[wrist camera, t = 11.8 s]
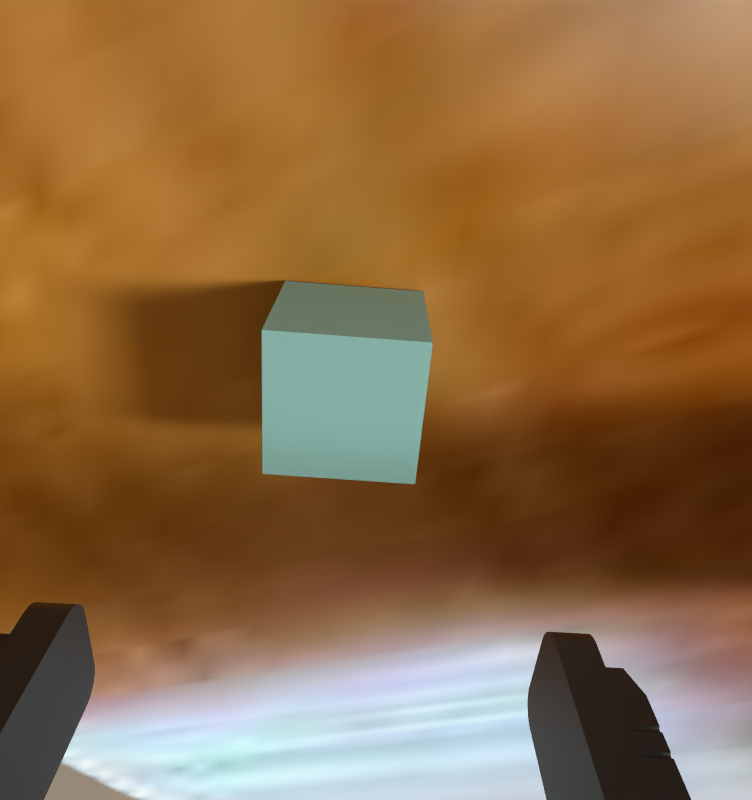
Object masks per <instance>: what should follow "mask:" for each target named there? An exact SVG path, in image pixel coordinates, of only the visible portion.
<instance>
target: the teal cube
mask: <svg viewBox="0 0 752 800" xmlns="http://www.w3.org/2000/svg"><path fill="white" fill-rule="evenodd" d="M432 345H433V341H432V336H431V330H430V325H429V320H428V315H427V310H426V304H425V299H424V294H423V291H411V290H398V289H385V288H372V287H359V286H346V285H333V284H319V283H306V282H293V281H285V282H284V284H283V286H282V288H281V291H280V293H279V295H278V297H277V299H276V301H275V303H274V305H273V307H272V309H271V311H270V314H269V316H268V318H267V320H266V322H265V324H264V326H263V328H262V474H272V475H287V476H301V477H316V478H331V479H345V480H360V481H375V482H389V483H404V484H415V481H416V473H417V465H418V457H419V449H420V441H421V433H422V425H423V417H424V409H425V401H426V393H427V385H428V377H429V369H430V361H431V353H432Z"/></svg>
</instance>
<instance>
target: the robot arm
mask: <svg viewBox="0 0 752 800" xmlns="http://www.w3.org/2000/svg"><path fill="white" fill-rule="evenodd" d="M94 675H95V666H94V659H93V654H92V648H91V643H90V638H89V632H88V627H87V622H86V616H85V612H84V609H83V607H82V606H81V605H78V604H60V603H42V602H35V603H32V604H31V605H30V606H29V607H28V608H27V609H26V610H25V612H24V613H23V615H22V616H21V618H20V619H19V621H18V623H17V624H16V626H15V627H14V629H13V630H12V632H11V633H10V634H0V800H44V798H45V796H46V794H47V791H48V789H49V787H50V785H51V783H52V781H53V778H54V776H55V774H56V772H57V770H58V767H59V765H60V763H61V761H62V759H63V756H64V754H65V752H66V750H67V748H68V745H69V743H70V741H71V739H72V737H73V735H74V732H75V730H76V728H77V726H78V724H79V721H80V719H81V717H82V715H83V713H84V710H85V708H86V706H87V704H88V701H89V698H90V695H91V692H92V688H93V683H94ZM528 718H529V725H530V730H531V734H532V739H533V743H534V747H535V752H536V756H537V760H538V764H539V769H540V773H541V777H542V782H543V786H544V790H545V794H546V799H547V800H691V798H690V796H689V794H688V791H687V789H686V787H685V784H684V782H683V780H682V777H681V775H680V773H679V770H678V768H677V766H676V763H675V761H674V759H672V758H671V756H670V750H669V747H668V745H667V743H666V740H665V738H664V736H663V733H662V732H660V730H659V724H658V722H657V719H656V717H655V715H654V712H653V710H652V708H651V705H650V703H649V701H648V699H647V696H646V695H645V694H644V692H643V691H642V690H641V689H640V688H639V687H638V685H637V684H636V683H635V682H634V681H633V680H632V678H631V677H630V676H629V675H628V674H627V673H626V671H625V670H624V669H623V668H608V667H605V665H604V662H603V660H602V657H601V655H600V652H599V649H598V647H597V644H596V642H595V640H594V638H593V637H592V636H591V635H590V634H579V633H560V632H546V633H545V635H544V637H543V640H542V643H541V647H540V651H539V654H538V658H537V661H536V665H535V669H534V672H533V676H532V680H531V683H530V687H529V693H528Z"/></svg>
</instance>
